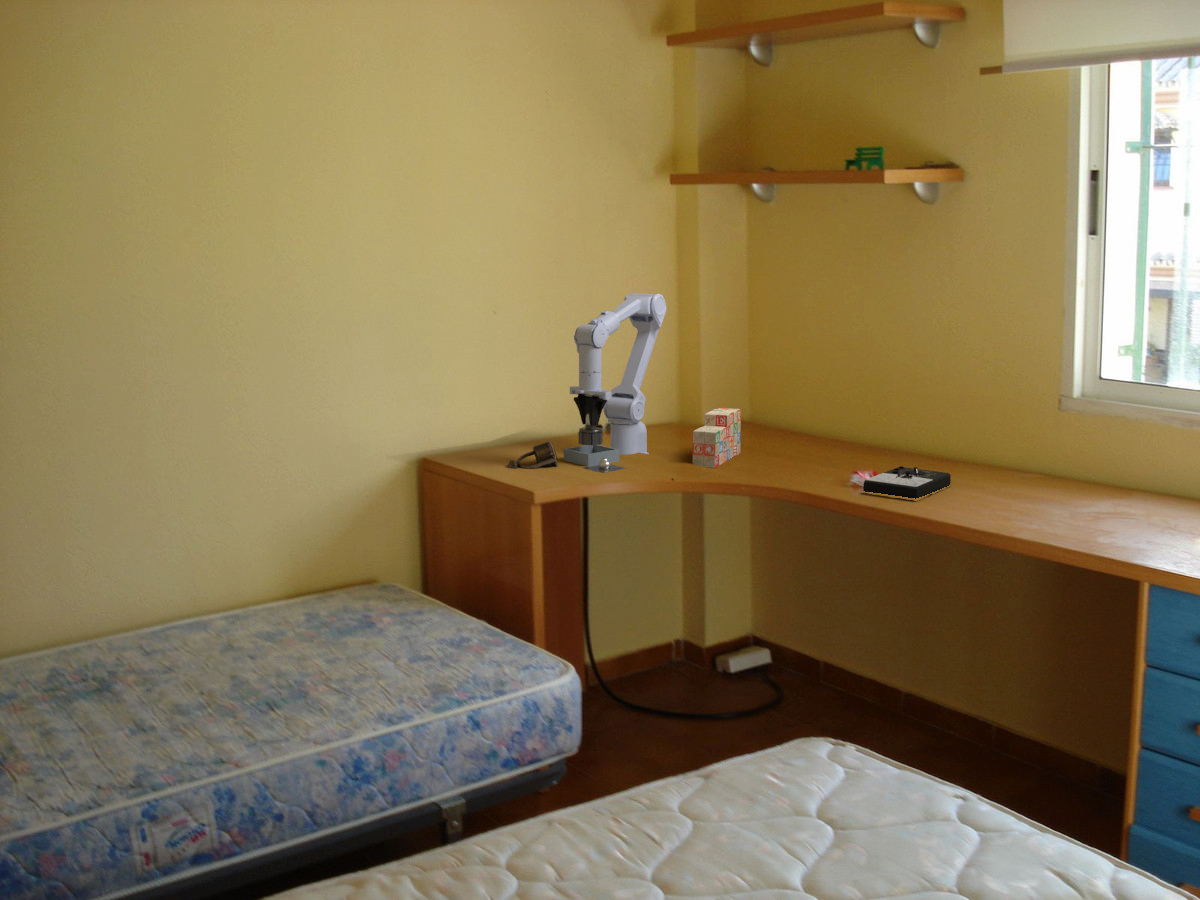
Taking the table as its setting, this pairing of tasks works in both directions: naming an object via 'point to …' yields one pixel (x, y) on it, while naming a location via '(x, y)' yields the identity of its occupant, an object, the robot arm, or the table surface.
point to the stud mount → (604, 466)
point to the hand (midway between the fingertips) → (590, 424)
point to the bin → (590, 454)
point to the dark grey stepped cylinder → (590, 434)
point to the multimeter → (907, 482)
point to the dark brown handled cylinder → (538, 457)
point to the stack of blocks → (717, 437)
